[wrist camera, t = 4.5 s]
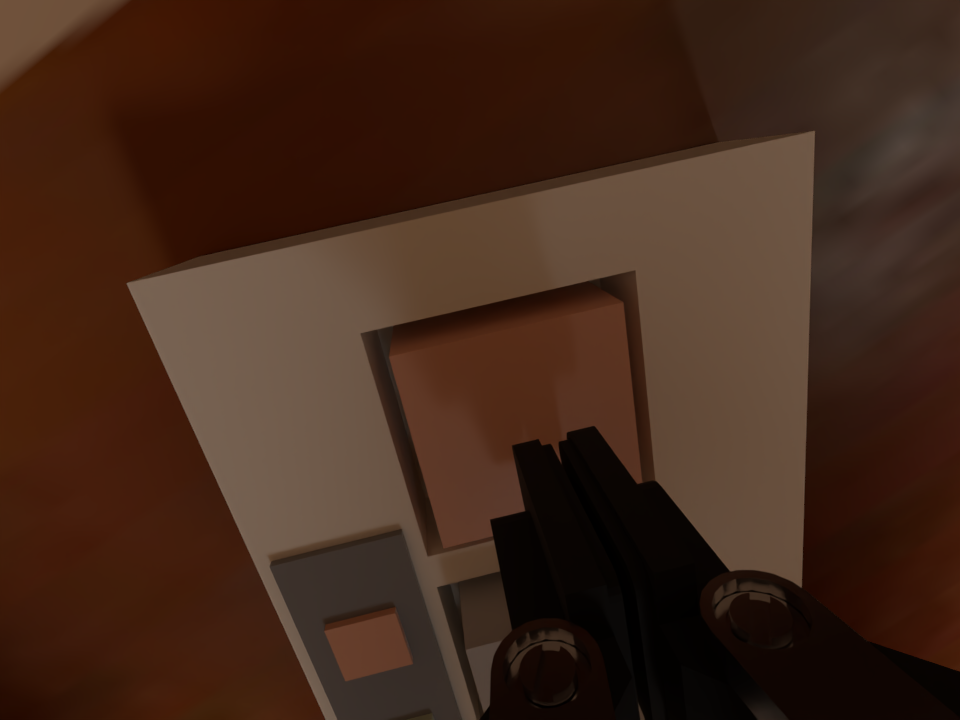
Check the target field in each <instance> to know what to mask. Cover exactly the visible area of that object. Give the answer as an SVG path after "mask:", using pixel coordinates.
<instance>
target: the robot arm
mask: <svg viewBox="0 0 960 720" xmlns="http://www.w3.org/2000/svg"><path fill="white" fill-rule="evenodd" d="M558 446H559V452H560V458H561V462H560V460H559V458H558V456H557V454H556V452H555V450H554V448H553V446H552V445H551V444H546V445H541V443H540V441H539V439H536V440H532V441H528V442H523V443H519V444H515V445H512V450H513V455H514V460H515V465H516V470H517V475H518V479H519V484H520V489H521V494H522V498H523V503H524V508H525V511H523V512H519V513H515V514H511V515H507V516H502V517H498V518H494V519H490V523H491V528H492V533H493V538H494V543H495V548H496V553H497V558H498V563H499V568H500V573H501V578H502V583H503V588H504V593H505V598H506V603H507V608H508V613H509V618H510V623H511V628H512V631H511V632H510V633H509V634H508V635H507V636H506V637H505V638H504V639H503V640H502V641H501V643H500V645H499V646H498V648H497V650H496V652H495V654H494V656H493V661H492V666H491V677H490V705H489V707H488V708H487V710H486V711H485V712H484V714H483V715H482V717H481V718H480V720H640V713H639V706H640V709H641V711H642V713H643V716H644V718H645V720H960V672H959V671H956V670H953V669H950V668H947V667H944V666H941V665H938V664H935V663H932V662H929V661H926V660H923V659H920V658H917V657H914V656H911V655H908V654H905V653H902V652H899V651H896V650H893V649H890V648H886V647H883V646H880V645H877V644H874V643H871V642H868V641H867V640H865V639H864V638H863V637H862V636H860V635H859V634H858V633H857V632H856V631H854V630H853V629H852V628H851V627H850V626H848V625H847V624H846V623H845V622H844V621H842V620H841V619H840V618H839V617H837V616H836V615H835V614H834V613H833V612H831V611H830V610H829V609H828V608H827V607H825V606H824V605H823V604H822V603H820V602H819V601H818V600H817V599H816V598H814V597H813V596H812V595H811V594H810V593H808V592H807V591H806V590H804V589H803V588H801V587H800V586H798V585H797V584H795V583H794V582H792V581H790V580H788V579H785V578H783V577H780V576H778V575H775V574H773V573H768V572H762V571H757V570H735V571H731V572H730V571H729V569H728V568H727V567H726V566H725V564H724V563H723V562H722V561H721V559H720V558H719V557H718V556H717V555H716V553H715V552H714V551H713V550H712V548H711V547H710V546H709V545H708V543H707V542H706V541H705V540H704V538H703V537H702V536H701V535H700V533H699V532H698V531H697V530H696V528H695V527H694V526H693V525H692V524H691V522H690V521H689V520H688V519H687V517H686V516H685V515H684V514H683V512H682V511H681V510H680V509H679V507H678V506H677V505H676V504H675V502H674V501H673V500H672V499H671V497H670V496H669V495H668V494H667V493H666V491H665V490H664V489H663V488H662V486H661V485H660V484H659V483H658V482H657V481H654V480H652V481H647V482H643V483H639V484H637V483H636V482H635V480H634V479H633V477H632V476H631V475H630V473H629V472H628V471H627V469H626V468H625V466H624V465H623V464H622V462H621V461H620V460H619V458H618V457H617V456H616V454H615V453H614V451H613V450H612V449H611V447H610V446H609V445H608V443H607V442H606V440H605V439H604V438H603V436H602V435H601V434H600V432H599V431H598V429H597V428H596V427H595V426H591V427H587V428H582V429H578V430H574V431H570V432H567V440H563V441H559V443H558ZM638 704H639V706H638Z"/></svg>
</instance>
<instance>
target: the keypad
mask: <svg viewBox="0 0 960 720" xmlns="http://www.w3.org/2000/svg"><path fill="white" fill-rule="evenodd" d="M814 145H815V131H810V132H801V133H793V134H784V135H775V136H767V137H758V138H750V139H741V140H732V141H724V142H717V143H713V144H708V145H704V146H699V147H694V148H690V149H685V150H681V151H676V152H672V153H667V154H663V155H658V156H654V157H649V158H645V159H640V160H635V161H631V162H626V163H622V164H617V165H613V166H608V167H604V168H599V169H595V170H590V171H586V172H581V173H576V174H572V175H567V176H563V177H558V178H554V179H549V180H545V181H540V182H536V183H531V184H526V185H522V186H517V187H513V188H508V189H504V190H499V191H495V192H490V193H486V194H481V195H477V196H472V197H467V198H463V199H458V200H454V201H449V202H445V203H440V204H436V205H431V206H427V207H422V208H418V209H413V210H408V211H404V212H399V213H395V214H390V215H386V216H381V217H377V218H372V219H368V220H363V221H359V222H354V223H349V224H345V225H340V226H336V227H331V228H327V229H322V230H318V231H313V232H309V233H304V234H300V235H295V236H290V237H286V238H281V239H277V240H272V241H268V242H263V243H259V244H254V245H250V246H245V247H240V248H236V249H231V250H227V251H222V252H218V253H213V254H209V255H204V256H200V257H196V258H194V259H191V260H188V261H186V262H183V263H180V264H177V265H175V266H172V267H169V268H166V269H164V270H161V271H158V272H155V273H153V274H150V275H147V276H145V277H142V278H139V279H136V280H134V281H131V282H128V283H127V286H128V288H129V290H130V292H131V294H132V297H133V299H134V301H135V303H136V305H137V308H138V310H139V312H140V314H141V316H142V318H143V321H144V323H145V325H146V327H147V329H148V332H149V334H150V336H151V338H152V340H153V343H154V345H155V347H156V349H157V351H158V353H159V356H160V358H161V360H162V362H163V364H164V367H165V369H166V371H167V373H168V375H169V378H170V380H171V382H172V384H173V386H174V389H175V391H176V393H177V395H178V397H179V399H180V402H181V404H182V406H183V408H184V410H185V413H186V415H187V417H188V419H189V421H190V424H191V426H192V428H193V430H194V432H195V435H196V437H197V439H198V441H199V443H200V445H201V448H202V450H203V452H204V454H205V456H206V459H207V461H208V463H209V465H210V467H211V470H212V472H213V474H214V476H215V478H216V480H217V483H218V485H219V487H220V489H221V491H222V494H223V496H224V498H225V500H226V502H227V505H228V507H229V509H230V511H231V513H232V516H233V518H234V520H235V522H236V524H237V526H238V529H239V531H240V533H241V535H242V537H243V540H244V542H245V544H246V546H247V548H248V551H249V553H250V555H251V557H252V559H253V562H254V564H255V566H256V568H257V570H258V572H259V575H260V577H261V579H262V581H263V583H264V586H265V588H266V590H267V592H268V594H269V597H270V599H271V601H272V603H273V605H274V607H275V610H276V612H277V614H278V616H279V618H280V621H281V623H282V625H283V627H284V629H285V632H286V634H287V636H288V638H289V640H290V643H291V645H292V647H293V649H294V651H295V653H296V656H297V658H298V660H299V662H300V664H301V667H302V669H303V671H304V673H305V675H306V678H307V680H308V682H309V684H310V686H311V689H312V691H313V693H314V695H315V697H316V699H317V702H318V704H319V706H320V708H321V710H322V713H323V715H324V717H325V719H326V720H480V718H481V717H482V715H483V714H484V712H483V708H482V705H481V701H480V698H479V694H478V691H477V688H476V684H475V681H474V677H473V674H472V670H471V667H470V664H469V660H468V657H467V653H466V650H465V641H464V631H463V622H462V613H461V603H460V594H459V585H458V582H459V581H463V580H467V579H471V578H475V577H479V576H483V575H487V574H491V573H495V572H499V571H500V568H499V563H498V558H497V553H496V548H495V543H494V538H493V536H492V537H488V538H484V539H480V540H476V541H472V542H468V543H464V544H460V545H456V546H452V547H448V548H443V545H442V541H441V538H440V534H439V531H438V527H437V524H436V520H435V517H434V513H433V510H432V506H431V503H430V499H429V496H428V492H427V489H426V485H425V482H424V478H423V475H422V471H421V468H420V464H419V461H418V457H417V454H416V450H415V447H414V443H413V440H412V436H411V433H410V429H409V426H408V422H407V419H406V415H405V412H404V408H403V405H402V401H401V398H400V394H399V391H398V387H397V384H396V380H395V377H394V373H393V370H392V366H391V363H390V359H389V352H390V346H391V339H392V332H393V326H394V325H398V324H403V323H407V322H412V321H416V320H420V319H425V318H429V317H433V316H438V315H442V314H446V313H451V312H455V311H459V310H464V309H468V308H472V307H477V306H481V305H486V304H490V303H494V302H499V301H503V300H507V299H512V298H516V297H520V296H525V295H529V294H533V293H538V292H542V291H546V290H551V289H555V288H560V287H564V286H568V285H573V284H577V283H581V282H586V281H589V282H590V283H592V284H594V285H595V286H597V287H599V288H600V289H602V290H604V291H605V292H607V293H609V294H610V295H612V296H614V297H615V298H617V299H619V300H620V301H622V302H623V303H624V313H625V322H626V332H627V341H628V351H629V360H630V370H631V379H632V389H633V398H634V408H635V417H636V427H637V436H638V446H639V455H640V464H641V474H642V483H643V482H647V481H652V480H654V481H657V482H658V483H659V484H660V485H661V486H662V488H663V489H664V490H665V491H666V493H667V494H668V495H669V496H670V497H671V499H672V500H673V501H674V502H675V504H676V505H677V506H678V507H679V509H680V510H681V511H682V512H683V514H684V515H685V516H686V517H687V519H688V520H689V521H690V522H691V524H692V525H693V526H694V527H695V528H696V530H697V531H698V532H699V533H700V535H701V536H702V537H703V538H704V540H705V541H706V542H707V543H708V545H709V546H710V547H711V548H712V550H713V551H714V552H715V553H716V555H717V556H718V557H719V558H720V559H721V561H722V562H723V563H724V564H725V566H726V567H727V568H728V569H729V571H730V572H731V571H735V570H757V571H762V572H768V573H773V574H775V575H778V576H780V577H783V578H785V579H788V580H790V581H792V582H794V583H795V584H797V585H798V586H800V587H801V588H802V561H803V527H804V492H805V457H806V422H807V388H808V353H809V318H810V284H811V249H812V214H813V180H814Z"/></svg>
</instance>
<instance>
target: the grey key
mask: <svg viewBox="0 0 960 720" xmlns="http://www.w3.org/2000/svg"><path fill="white" fill-rule="evenodd" d="M458 585H459V594H460V603H461V613H462V622H463V631H464V641H465V650H466V653H467V657H468V660H469V664H470V667H471V670H472V674H473V677H474V681H475V684H476V688H477V691H478V694H479V698H480V701H481V705H482V708H483V712H485V711H486V710H487V708H488V707H489V705H490V677H491V666H492V661H493V656H494V654H495V652H496V650H497V648H498V646H499V645H500V643H501V641H502V640H503V639H504V638H505V637H506V636H507V635H508V634H509V633H510V632H511V631H512V628H511V623H510V618H509V613H508V608H507V603H506V598H505V593H504V588H503V583H502V578H501V573H500V571H499V572H495V573H491V574H487V575H483V576H479V577H475V578H471V579H467V580H463V581H459V582H458ZM638 706H639V704H638ZM639 713H640V720H645V718H644V716H643V713H642V711H641V709H640V706H639Z"/></svg>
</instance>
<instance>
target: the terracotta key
mask: <svg viewBox="0 0 960 720" xmlns="http://www.w3.org/2000/svg"><path fill="white" fill-rule="evenodd" d="M389 359H390V363H391V366H392V370H393V373H394V377H395V380H396V384H397V387H398V391H399V394H400V398H401V401H402V405H403V408H404V412H405V415H406V419H407V422H408V426H409V429H410V433H411V436H412V440H413V443H414V447H415V450H416V454H417V457H418V461H419V464H420V468H421V471H422V475H423V478H424V482H425V485H426V489H427V492H428V496H429V499H430V503H431V506H432V510H433V513H434V517H435V520H436V524H437V527H438V531H439V534H440V538H441V541H442V545H443V548H448V547H452V546H456V545H460V544H464V543H468V542H472V541H476V540H480V539H484V538H488V537H492V536H493V533H492V528H491V523H490V519H494V518H498V517H502V516H507V515H511V514H515V513H519V512H523V511H525V508H524V503H523V498H522V494H521V489H520V484H519V479H518V475H517V470H516V465H515V460H514V455H513V450H512V445H515V444H519V443H523V442H528V441H532V440H536V439H539V441H540V443H541V445H546V444H551V445H552V446H553V448H554V450H555V452H556V454H557V456H558V458H559V460H560V462H561V458H560V452H559V446H558V443H559V441H563V440H567V432H570V431H574V430H578V429H582V428H587V427H591V426H595V427H596V428H597V429H598V431H599V432H600V434H601V435H602V436H603V438H604V439H605V440H606V442H607V443H608V445H609V446H610V447H611V449H612V450H613V451H614V453H615V454H616V456H617V457H618V458H619V460H620V461H621V462H622V464H623V465H624V466H625V468H626V469H627V471H628V472H629V473H630V475H631V476H632V477H633V479H634V480H635V482H636V483H637V484H639V483H642V474H641V464H640V455H639V446H638V436H637V427H636V417H635V408H634V398H633V389H632V379H631V370H630V360H629V351H628V341H627V332H626V322H625V313H624V303H623V302H622V301H620V300H619V299H617V298H615V297H614V296H612V295H610V294H609V293H607V292H605V291H604V290H602V289H600V288H599V287H597V286H595V285H594V284H592V283H590V282H589V281H586V282H581V283H577V284H573V285H568V286H564V287H560V288H555V289H551V290H546V291H542V292H538V293H533V294H529V295H525V296H520V297H516V298H512V299H507V300H503V301H499V302H494V303H490V304H486V305H481V306H477V307H472V308H468V309H464V310H459V311H455V312H451V313H446V314H442V315H438V316H433V317H429V318H425V319H420V320H416V321H412V322H407V323H403V324H398V325H394V326H393V332H392V339H391V346H390V352H389Z"/></svg>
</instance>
